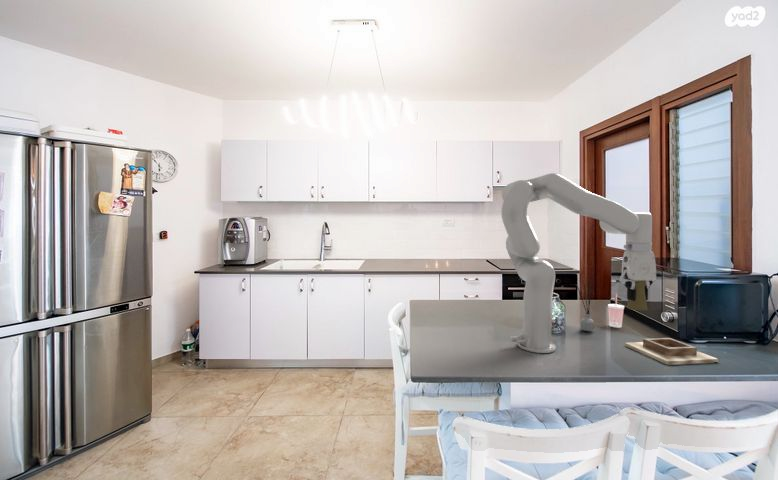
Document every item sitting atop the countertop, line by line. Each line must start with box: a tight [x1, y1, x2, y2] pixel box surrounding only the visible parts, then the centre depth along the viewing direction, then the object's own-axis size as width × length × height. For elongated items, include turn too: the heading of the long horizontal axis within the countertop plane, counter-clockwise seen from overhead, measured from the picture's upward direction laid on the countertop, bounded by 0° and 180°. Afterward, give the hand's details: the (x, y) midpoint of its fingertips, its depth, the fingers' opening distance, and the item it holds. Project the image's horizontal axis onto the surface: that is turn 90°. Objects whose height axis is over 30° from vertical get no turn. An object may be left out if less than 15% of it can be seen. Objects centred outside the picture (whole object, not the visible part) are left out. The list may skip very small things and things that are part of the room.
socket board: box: [624, 337, 719, 366], centre depth 129 cm, size 18×18×4 cm
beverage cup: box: [607, 293, 625, 329], centre depth 162 cm, size 6×6×14 cm
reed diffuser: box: [576, 281, 595, 332], centre depth 154 cm, size 10×7×20 cm
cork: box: [626, 281, 648, 311], centre depth 132 cm, size 6×6×11 cm
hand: (637, 299), depth 132 cm, fingers closed on cork, 4 cm apart
